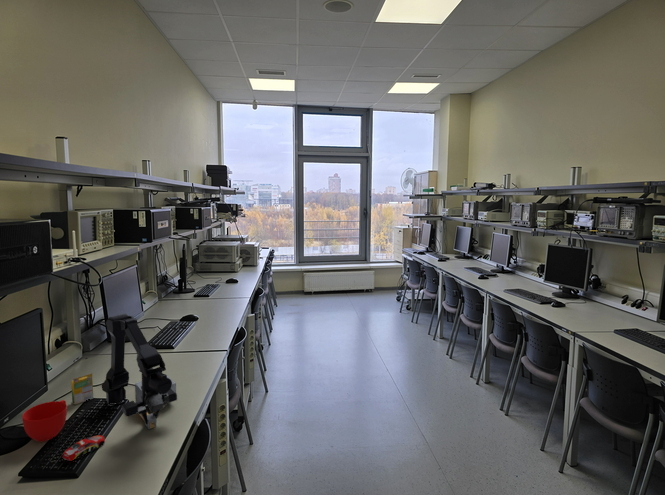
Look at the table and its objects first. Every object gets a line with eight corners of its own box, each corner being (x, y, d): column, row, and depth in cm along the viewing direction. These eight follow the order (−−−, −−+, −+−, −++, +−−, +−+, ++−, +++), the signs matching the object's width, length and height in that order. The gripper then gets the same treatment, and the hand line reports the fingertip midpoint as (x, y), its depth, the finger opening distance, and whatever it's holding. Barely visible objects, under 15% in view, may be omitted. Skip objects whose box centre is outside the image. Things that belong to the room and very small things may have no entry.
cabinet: (144, 414, 155) (144, 393, 154) (135, 403, 163) (135, 383, 162) (176, 403, 164) (176, 383, 163) (166, 393, 172) (165, 374, 171)
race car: (99, 438, 139) (98, 428, 139) (108, 443, 137) (108, 433, 136) (60, 459, 127) (59, 448, 127) (69, 465, 125) (69, 454, 124)
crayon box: (91, 396, 167) (90, 371, 166) (93, 398, 165) (92, 373, 164) (71, 402, 161) (70, 376, 160) (74, 405, 160) (73, 379, 158)
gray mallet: (148, 429, 145) (148, 420, 145) (135, 412, 156) (135, 404, 155) (156, 426, 147) (156, 417, 147) (142, 409, 158) (142, 401, 157)
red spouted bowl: (82, 419, 149) (81, 396, 148) (52, 447, 133) (50, 421, 131) (48, 419, 149) (47, 395, 148) (14, 447, 132) (12, 420, 131)
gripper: (130, 401, 133) (131, 442, 135) (182, 385, 146) (183, 422, 148) (120, 389, 141) (121, 428, 143) (171, 374, 154) (171, 410, 156)
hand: (150, 422), depth 147 cm, fingers closed on gray mallet, 3 cm apart
